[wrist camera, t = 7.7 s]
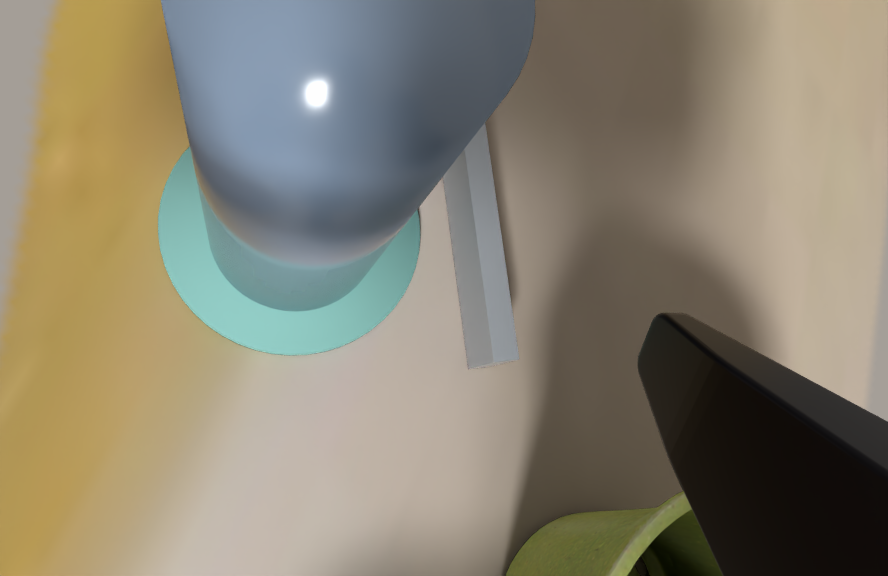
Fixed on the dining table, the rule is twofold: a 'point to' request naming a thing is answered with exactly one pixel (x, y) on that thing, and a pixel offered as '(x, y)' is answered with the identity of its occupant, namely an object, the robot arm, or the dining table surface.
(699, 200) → the dining table surface
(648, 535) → the plant pot
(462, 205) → the acrylic wall
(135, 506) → the dining table surface
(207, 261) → the coaster
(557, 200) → the dining table surface
